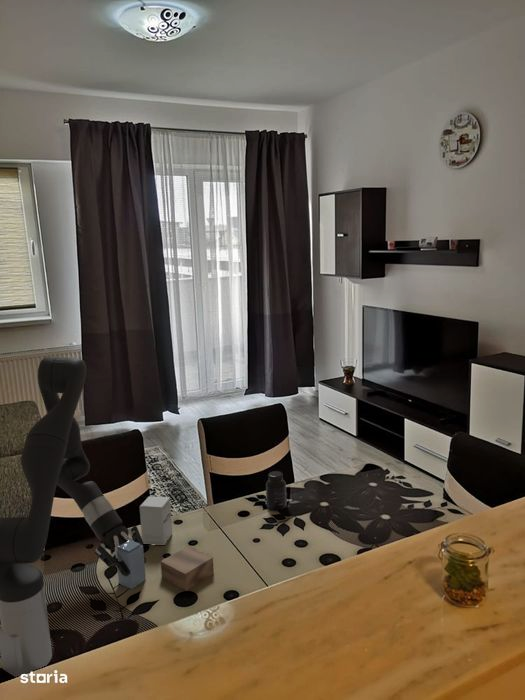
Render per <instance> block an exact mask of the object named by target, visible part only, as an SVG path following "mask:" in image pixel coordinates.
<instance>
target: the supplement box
mask: <svg viewBox="0 0 525 700" xmlns="http://www.w3.org/2000/svg"><path fill="white" fill-rule="evenodd" d="M171 506H172V505H171V497H170V496H168V497H167V496H151V495H149V496H147V497H146V499H145V500H144V501H143V502H142V503H141V504H140V505H139V514H140V516H139V517H140V531H141V538H142V541H143V543H144V544H155V545H166V543H168V541H167V540H170V538H171V537H172V536H171V535H173V524H172V523H173V522H172V509H171ZM170 536H171V537H170ZM169 537H170V538H169Z"/></svg>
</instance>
